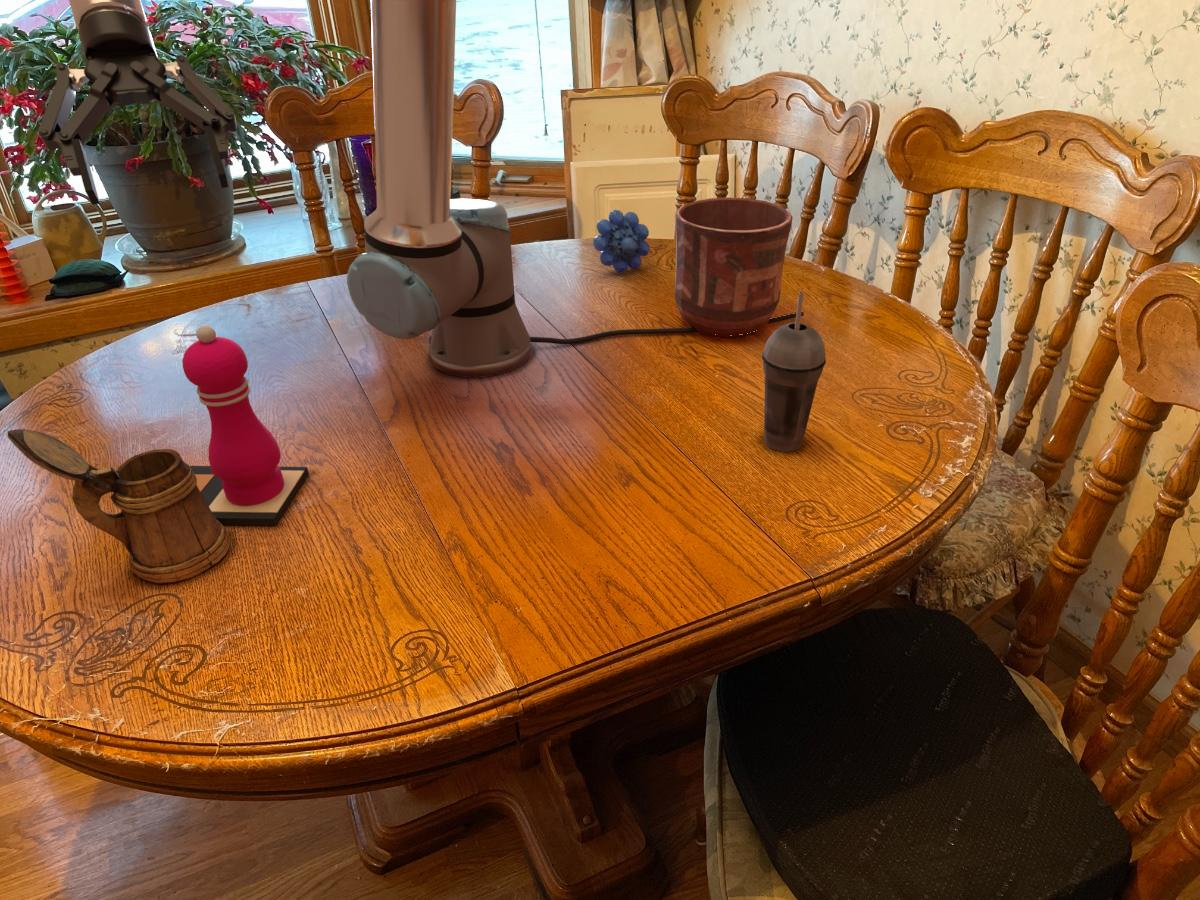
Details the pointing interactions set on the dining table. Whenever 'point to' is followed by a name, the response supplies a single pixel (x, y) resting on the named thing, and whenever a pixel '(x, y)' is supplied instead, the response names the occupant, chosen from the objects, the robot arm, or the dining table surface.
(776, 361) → the beverage cup
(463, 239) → the robot arm
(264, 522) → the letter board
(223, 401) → the pepper mill
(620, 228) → the blue ball flower
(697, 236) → the pottery
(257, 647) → the dining table surface
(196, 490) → the wooden mug
